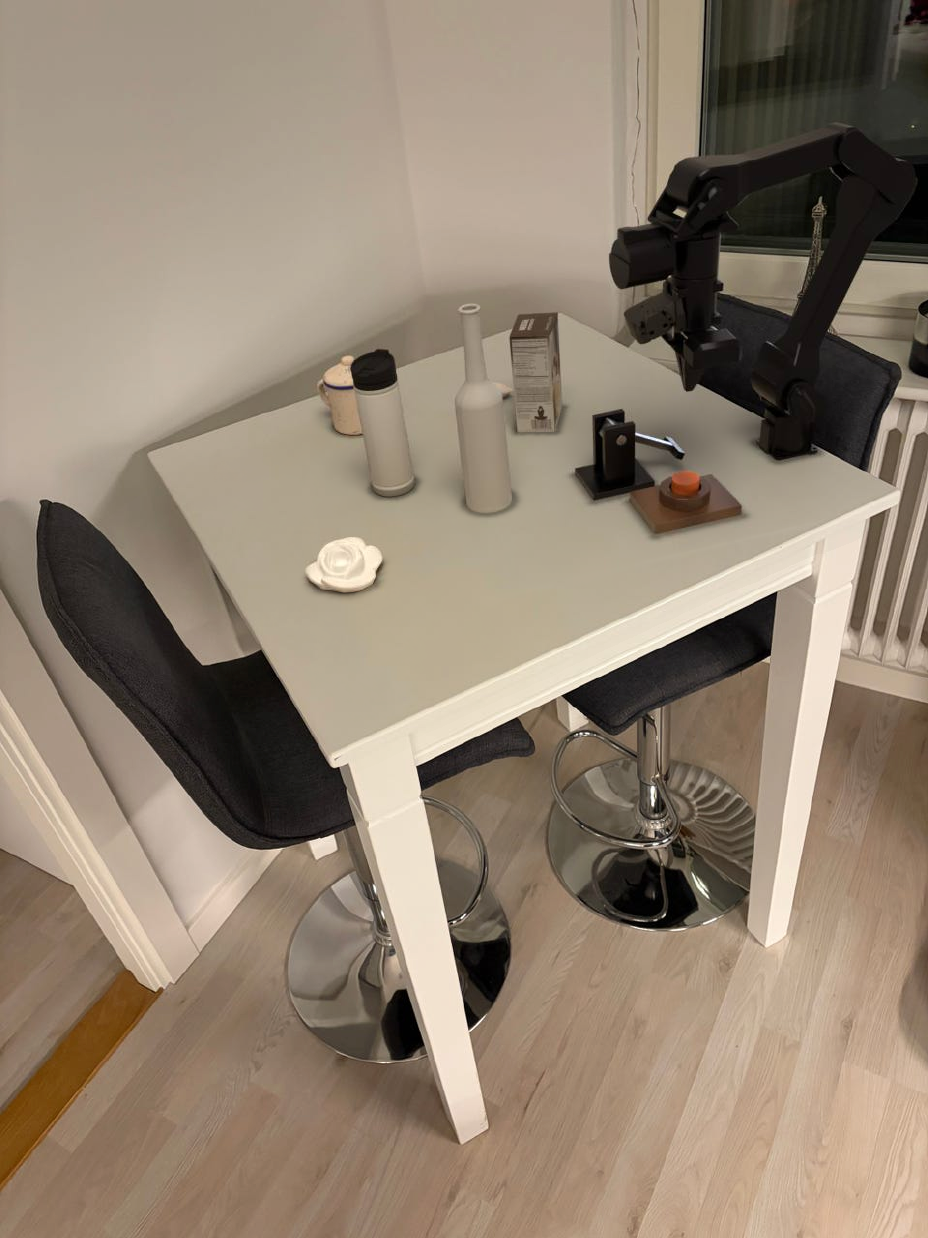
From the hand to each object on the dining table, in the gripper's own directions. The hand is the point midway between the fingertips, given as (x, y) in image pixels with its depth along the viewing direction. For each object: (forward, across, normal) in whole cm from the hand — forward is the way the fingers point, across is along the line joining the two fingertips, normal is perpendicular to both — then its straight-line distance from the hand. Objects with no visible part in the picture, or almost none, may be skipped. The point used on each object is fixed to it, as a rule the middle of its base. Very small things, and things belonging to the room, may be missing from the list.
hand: (688, 390), depth 124 cm
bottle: (+13, -2, -28) cm, 31 cm away
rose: (+13, +9, -49) cm, 52 cm away
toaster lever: (+8, -2, -6) cm, 10 cm away
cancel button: (+10, +9, -3) cm, 13 cm away
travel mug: (+13, -12, -40) cm, 44 cm away
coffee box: (+13, -24, -15) cm, 32 cm away
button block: (+13, +8, -3) cm, 16 cm away
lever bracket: (+13, -2, -10) cm, 16 cm away
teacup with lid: (+13, -35, -45) cm, 59 cm away
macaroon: (+13, -35, -20) cm, 42 cm away
